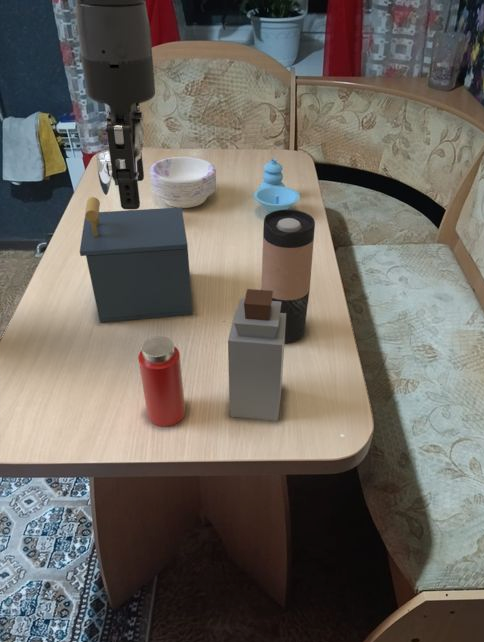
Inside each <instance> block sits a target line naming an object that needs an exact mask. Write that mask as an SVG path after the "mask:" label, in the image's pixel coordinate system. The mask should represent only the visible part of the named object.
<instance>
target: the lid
mask: <svg viewBox="0 0 484 642" xmlns="http://www.w3.org/2000/svg"><path fill="white" fill-rule="evenodd" d="M100 206H101V201H100V200H99V199H98V198H97V197H94V196H91V197H89V198H87V200H86V206H85V211H84V220H83V225H82V233H81V240H80V245H79V256H80V257H86V256H89V255H103V254H117V253H131V252H146V251H160V250H174V249H188V250H189V247H188V246H189V245H188V239H187V233H186V227H185V219H184V214H183V208H181V207H165V208H164V207H163V208H162V207H161V208H148V209H147V208H144V209H134V210H127V211H110V212H109V211H100Z"/></svg>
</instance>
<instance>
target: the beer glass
mask: <svg viewBox="0 0 484 642" xmlns="http://www.w3.org/2000/svg"><path fill="white" fill-rule="evenodd" d="M96 166H97V167H96V168H97V174H98V176H97V177H98V180H99V184H100V188H101V190H102V191H101V192H102V194H103V197H104V200H105V203H106V205H107V209H108V212H110V211H127V210H135V209H123V208H122V207H121V202H120V195H119V187H118V180H113V177H112V167H111V159H110V153H109V149H108V150H103V151H101V152H99V153H97V154H96ZM120 169H126V167H125V160H121V161H120Z"/></svg>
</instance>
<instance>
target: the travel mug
mask: <svg viewBox="0 0 484 642" xmlns="http://www.w3.org/2000/svg"><path fill="white" fill-rule="evenodd" d="M315 228H316V222H315V218H314V217H313V216H312V215H311V214H309V213H307V212H304V211H301V210H297V209H287V210H278V211H274V212H271V213H269V212H268V213H267V214H266V215H265V216H264V218H263V230H262V231H263V233H262V256H261V257H262V259H261V283H260V285H261V286H260V290H267V291H273V295H272V301H279V302H281V309H280V313H286V326H285V343H284V344H292V343H294V342H297V341H299V340H300V339H301V338H302V337H304V334H305V329H306V322H307V321H306V320H307V313H308V305H309V298H310V289H311V279H312V268H313V267H312V265H313V253H314V242H315Z"/></svg>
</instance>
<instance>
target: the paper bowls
mask: <svg viewBox="0 0 484 642" xmlns="http://www.w3.org/2000/svg"><path fill="white" fill-rule="evenodd" d="M149 177H150V187H151V191H152V193H153V194H154V195H155V196H157V197H159V198H160V199H162V201H163V202H164V203H165V204H167V205H168V206H169V207H172V208H178V207H181V208H182V209H189V208H196V207H198V206H200V205H202V204H203V203H204V202H206V201H207V199H208V197H209V196H212V195H213V194H214V193H215V192H216V189H217V169H216V166H215V165H214V164H213V163H212V162H210V161H208V160H206V159H203V158H199V157H194V156H173V157H167V158H163V159H160V160H158V161H156V162H154V163H153V164H152V165H151V166H150V167H149Z"/></svg>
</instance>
